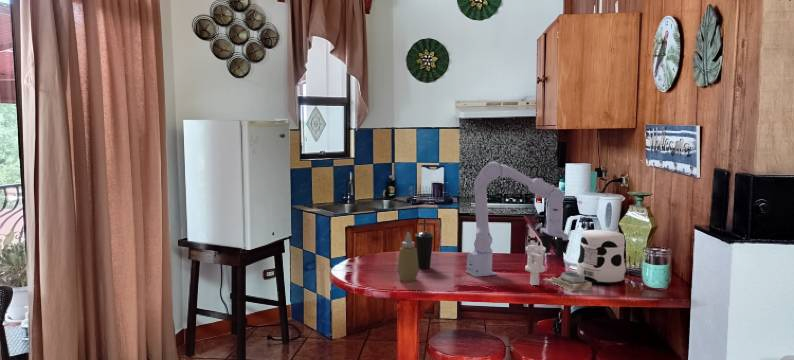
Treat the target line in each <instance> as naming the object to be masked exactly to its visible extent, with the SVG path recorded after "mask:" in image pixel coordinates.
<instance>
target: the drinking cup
mask: <svg viewBox="0 0 794 360" xmlns="http://www.w3.org/2000/svg"><path fill="white" fill-rule="evenodd" d="M414 236H415V245H416V247H415V248H416V249H417V256H418V267H419V270H420V269H422V270H427V269H430V268H431V261H432V250H433V244H434V243H433V242H434V236H435V235H434V234H433V233H432V232H429V231H426V218H424V219H423V231H419V232H417V233H415V234H414Z"/></svg>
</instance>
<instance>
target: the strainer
mask: <svg viewBox="0 0 794 360" xmlns="http://www.w3.org/2000/svg"><path fill="white" fill-rule="evenodd" d="M525 251H526V252H527V253H526V254H527V264H526V265H525V267H524V270H525V271H526V272H530V275H529V277H530V279H529V280H530V281H529V285H530V284H531V285H530V286H533V285H538V286H539V285H540V273H543V272H546V267H545V266H544V254H545V253H544V252H546V248H545V247H543V245H536V244H527V246H525Z"/></svg>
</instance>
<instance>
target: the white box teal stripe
mask: <svg viewBox="0 0 794 360" xmlns="http://www.w3.org/2000/svg"><path fill="white" fill-rule="evenodd" d="M559 277H560V279H561V280H563V281H567V282H569V283H572V284H577V283H584V276H582V275H579V274H578V273H575V272H573V271H570V272H562V273H561V275H559Z"/></svg>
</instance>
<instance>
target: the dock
mask: <svg viewBox="0 0 794 360" xmlns="http://www.w3.org/2000/svg"><path fill="white" fill-rule="evenodd" d="M557 277H558V278H556V277H555V276H552V277H550V279H548V278H542V279H543V281H544V280H545V282H546V281H548V282H547V283H549V282H550V283H549V284H551V285H554V284H555V285H554V286H556V285H558V286H561V287H563V288H565V289H567V290H570V291H576V292H579V291H578V290H584V291H589V290H588V289H592V290H593V282H589V281H586V280H584V283H577V284H572V283H569V282H567V281H563V280H561V279H560V276H557ZM558 286H557V287H558ZM561 287H560V288H561ZM563 288H562V289H563ZM565 289H564V290H565ZM567 290H566V291H567ZM570 291H569V292H570Z"/></svg>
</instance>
